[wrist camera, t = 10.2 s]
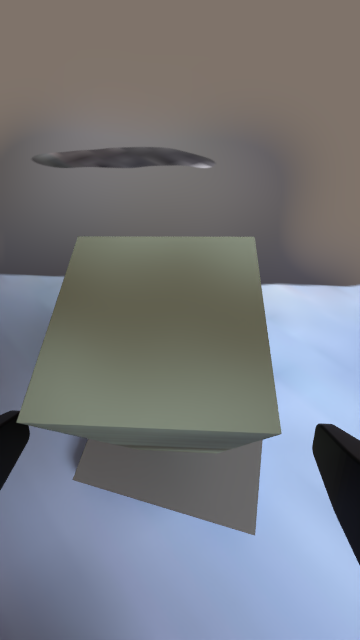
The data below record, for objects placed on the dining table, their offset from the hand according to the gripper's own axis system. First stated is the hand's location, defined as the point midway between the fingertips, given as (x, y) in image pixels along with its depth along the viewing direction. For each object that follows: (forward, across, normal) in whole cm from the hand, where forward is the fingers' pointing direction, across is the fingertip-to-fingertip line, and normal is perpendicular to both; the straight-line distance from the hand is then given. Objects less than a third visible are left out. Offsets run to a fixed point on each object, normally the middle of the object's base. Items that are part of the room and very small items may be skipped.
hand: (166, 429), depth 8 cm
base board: (+10, 0, +6) cm, 11 cm away
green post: (+8, 0, +5) cm, 10 cm away
